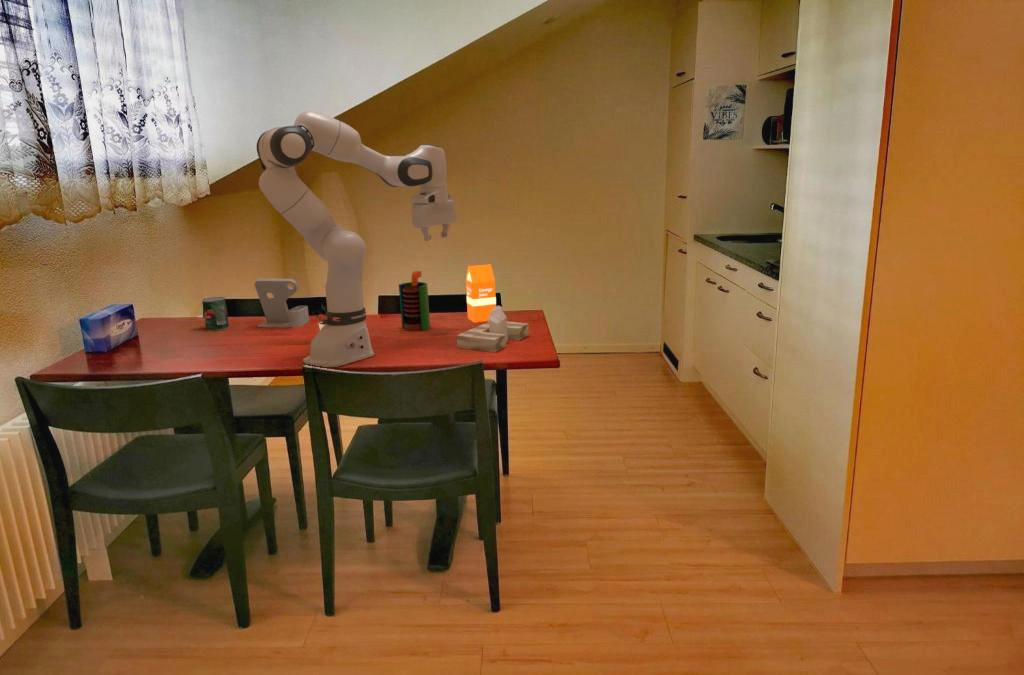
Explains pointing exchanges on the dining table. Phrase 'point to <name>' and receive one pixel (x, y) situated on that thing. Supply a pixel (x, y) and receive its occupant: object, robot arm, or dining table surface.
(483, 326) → the notched board
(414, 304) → the motor
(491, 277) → the orange juice
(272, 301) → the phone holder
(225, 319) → the canned tomato
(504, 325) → the grey rounded cylinder
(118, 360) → the dining table surface
